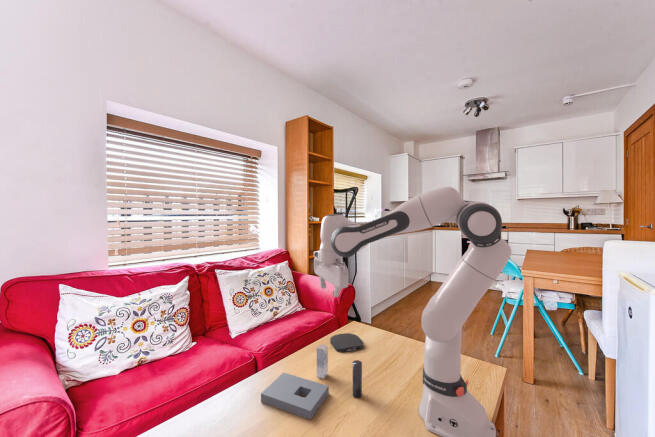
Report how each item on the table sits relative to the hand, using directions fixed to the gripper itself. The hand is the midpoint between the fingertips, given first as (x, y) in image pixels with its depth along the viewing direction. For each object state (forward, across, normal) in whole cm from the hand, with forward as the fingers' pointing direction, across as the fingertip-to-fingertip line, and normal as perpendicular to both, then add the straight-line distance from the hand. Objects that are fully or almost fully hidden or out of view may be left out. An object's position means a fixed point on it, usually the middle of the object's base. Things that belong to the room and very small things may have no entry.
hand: (329, 292), depth 104 cm
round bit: (+36, -12, -7) cm, 38 cm away
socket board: (+37, -2, +13) cm, 39 cm away
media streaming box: (+39, +21, -25) cm, 51 cm away
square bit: (+37, +4, -1) cm, 38 cm away
